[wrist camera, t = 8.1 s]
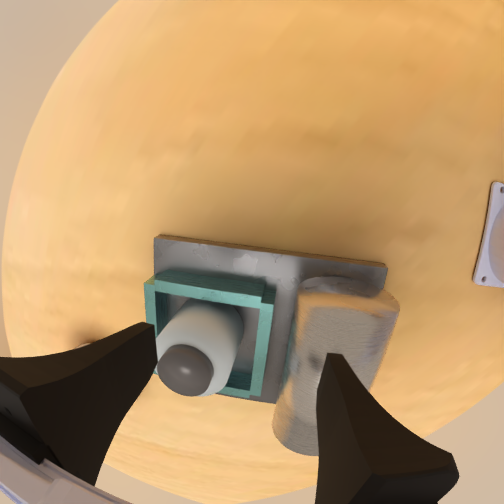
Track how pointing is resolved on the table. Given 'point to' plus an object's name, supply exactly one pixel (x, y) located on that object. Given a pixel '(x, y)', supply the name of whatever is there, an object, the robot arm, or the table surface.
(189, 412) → the table surface
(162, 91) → the table surface
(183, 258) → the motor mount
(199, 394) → the grey capped cylinder
